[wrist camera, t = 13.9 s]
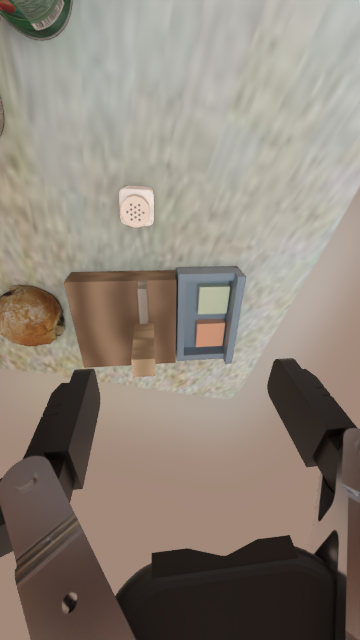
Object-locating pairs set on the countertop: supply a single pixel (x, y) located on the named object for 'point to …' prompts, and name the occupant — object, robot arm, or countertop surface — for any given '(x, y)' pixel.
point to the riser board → (121, 314)
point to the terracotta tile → (209, 332)
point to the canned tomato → (37, 16)
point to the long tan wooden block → (143, 338)
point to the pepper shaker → (136, 206)
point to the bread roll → (30, 316)
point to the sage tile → (212, 298)
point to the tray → (189, 315)
